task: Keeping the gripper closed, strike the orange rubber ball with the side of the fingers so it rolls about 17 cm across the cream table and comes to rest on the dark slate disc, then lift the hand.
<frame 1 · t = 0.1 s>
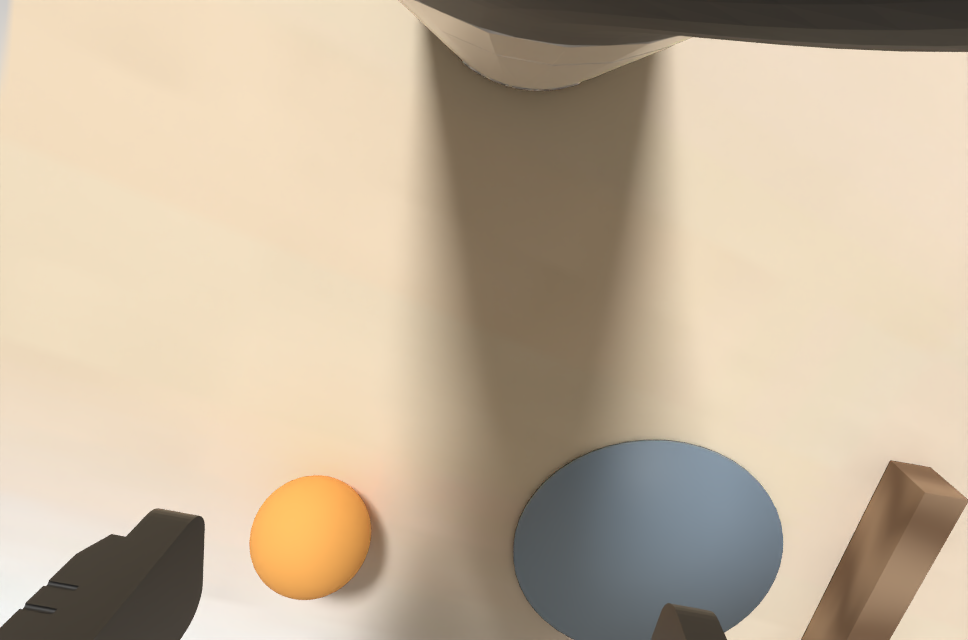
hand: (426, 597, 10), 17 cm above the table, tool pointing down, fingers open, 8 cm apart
ball: (312, 535, 28), on the table
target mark: (644, 553, 31), on the table
brown square bar: (846, 588, 31), on the table
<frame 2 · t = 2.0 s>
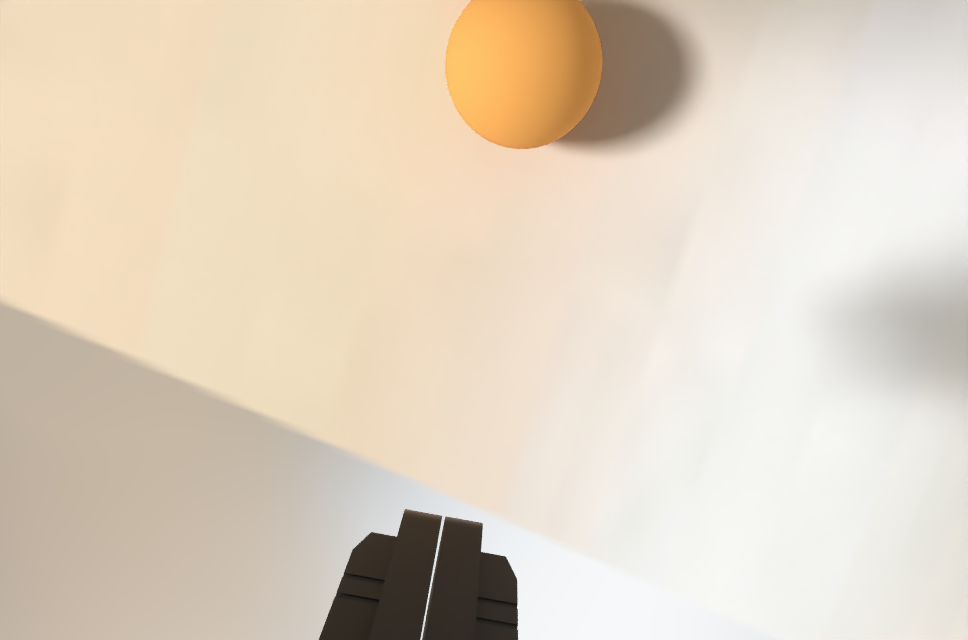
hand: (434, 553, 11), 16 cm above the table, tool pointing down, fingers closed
ball: (523, 67, 21), on the table
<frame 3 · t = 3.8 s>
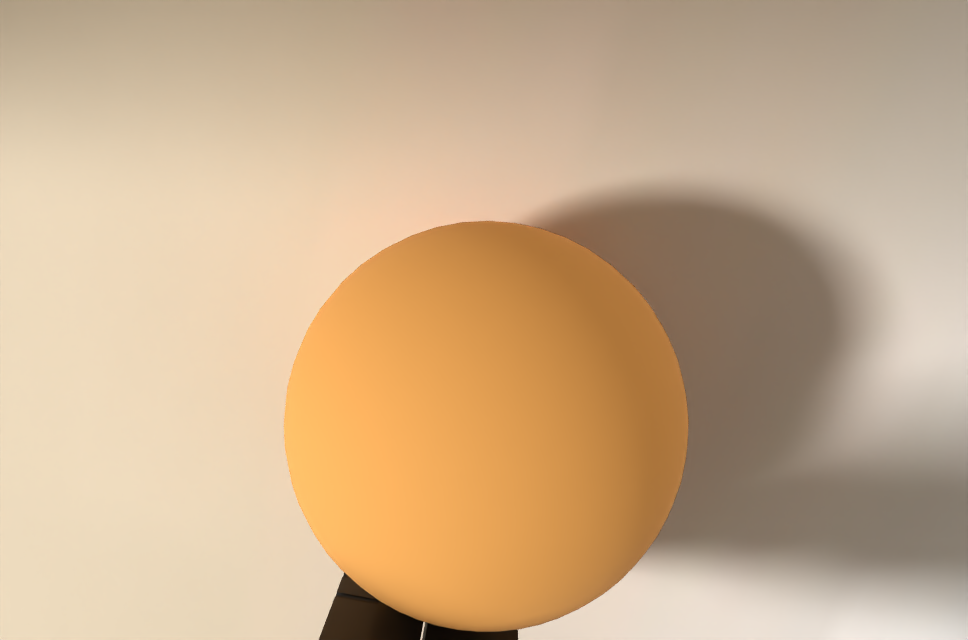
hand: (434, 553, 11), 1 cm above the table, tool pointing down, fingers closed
ball: (485, 414, 8), on the table, touching gripper
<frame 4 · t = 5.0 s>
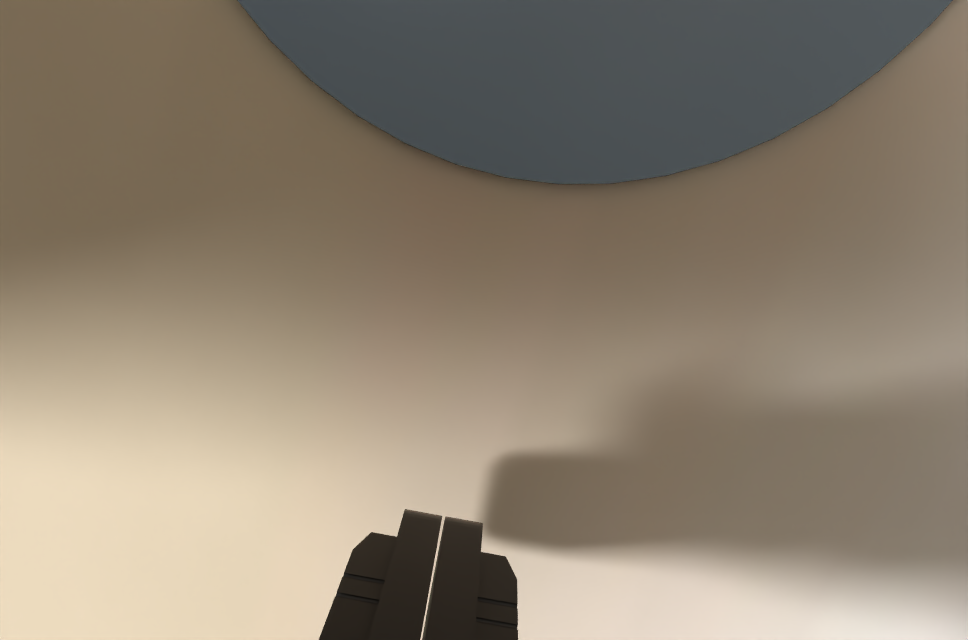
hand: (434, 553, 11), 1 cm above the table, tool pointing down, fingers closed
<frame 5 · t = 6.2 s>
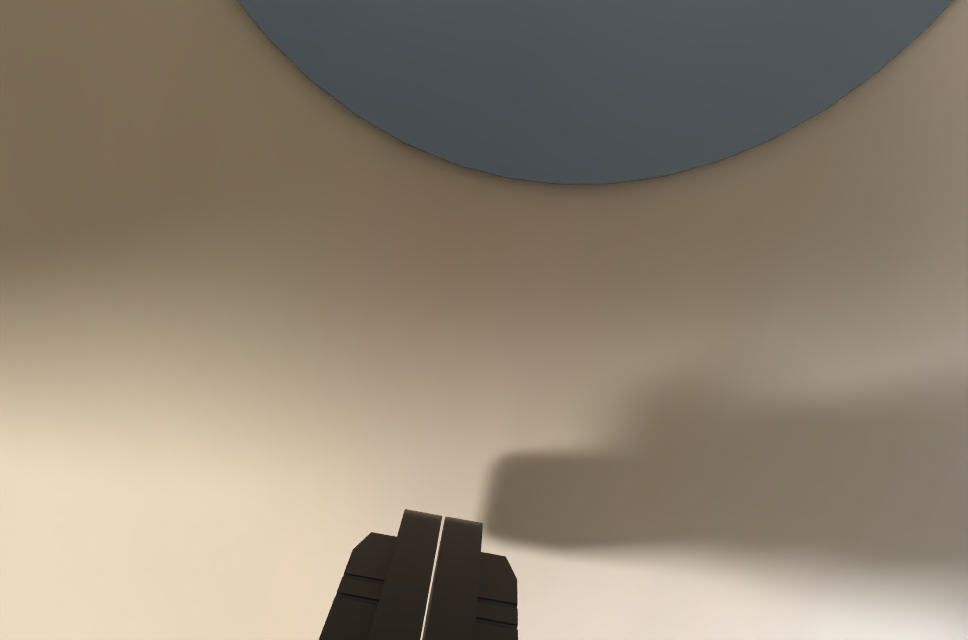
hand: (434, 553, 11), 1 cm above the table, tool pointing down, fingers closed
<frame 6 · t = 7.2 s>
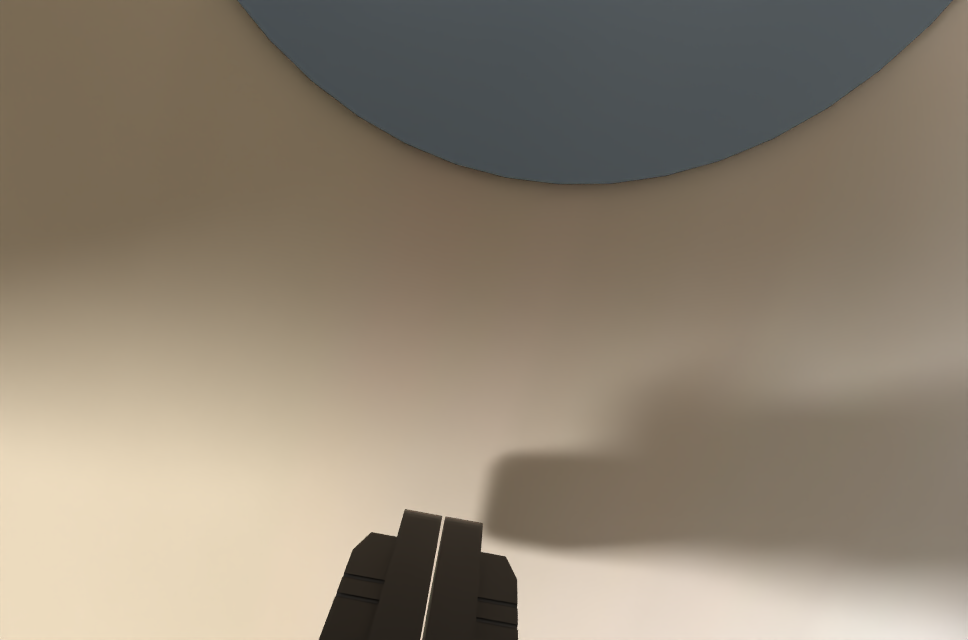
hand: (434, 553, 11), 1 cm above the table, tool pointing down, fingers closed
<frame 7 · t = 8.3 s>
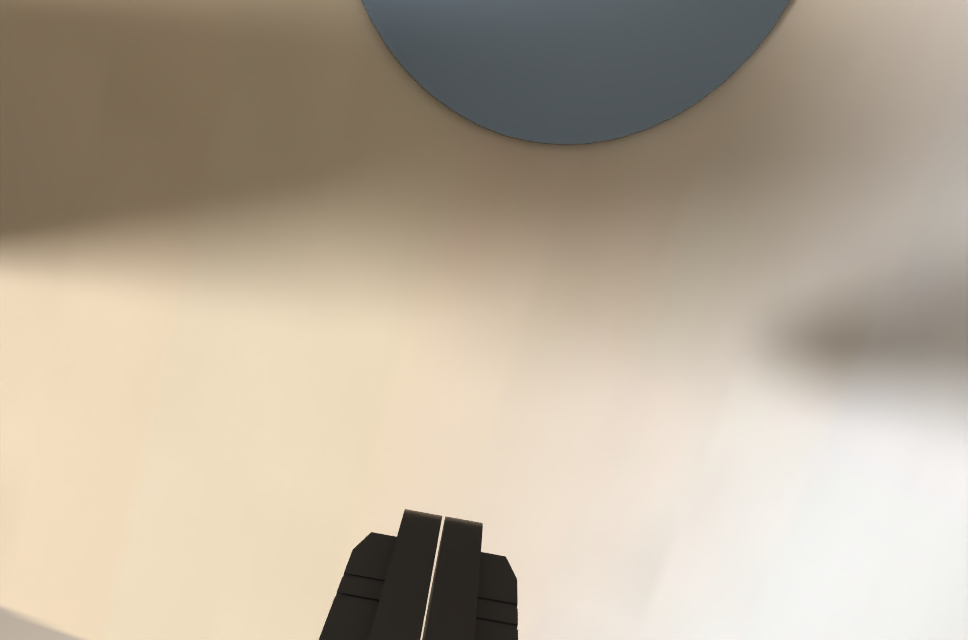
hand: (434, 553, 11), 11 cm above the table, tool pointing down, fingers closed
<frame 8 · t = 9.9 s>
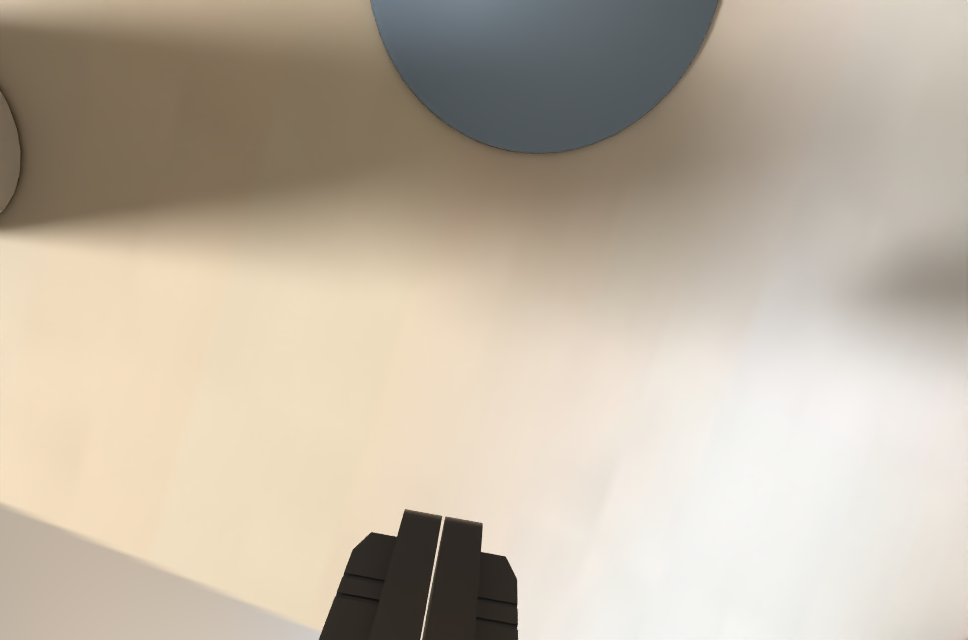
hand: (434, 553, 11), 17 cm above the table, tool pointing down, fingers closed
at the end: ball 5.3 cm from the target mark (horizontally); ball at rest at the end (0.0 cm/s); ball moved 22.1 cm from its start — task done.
